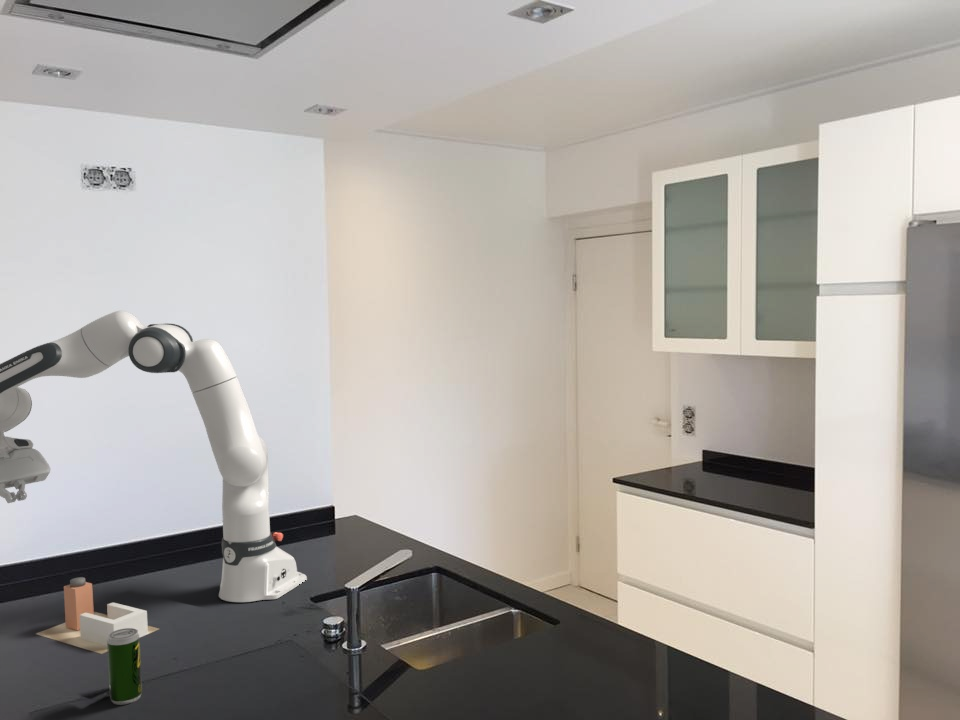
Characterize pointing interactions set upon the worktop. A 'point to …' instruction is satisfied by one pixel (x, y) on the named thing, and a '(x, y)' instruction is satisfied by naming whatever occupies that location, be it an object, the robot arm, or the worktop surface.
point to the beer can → (124, 666)
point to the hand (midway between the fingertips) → (17, 499)
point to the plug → (77, 601)
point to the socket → (112, 622)
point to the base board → (78, 636)
